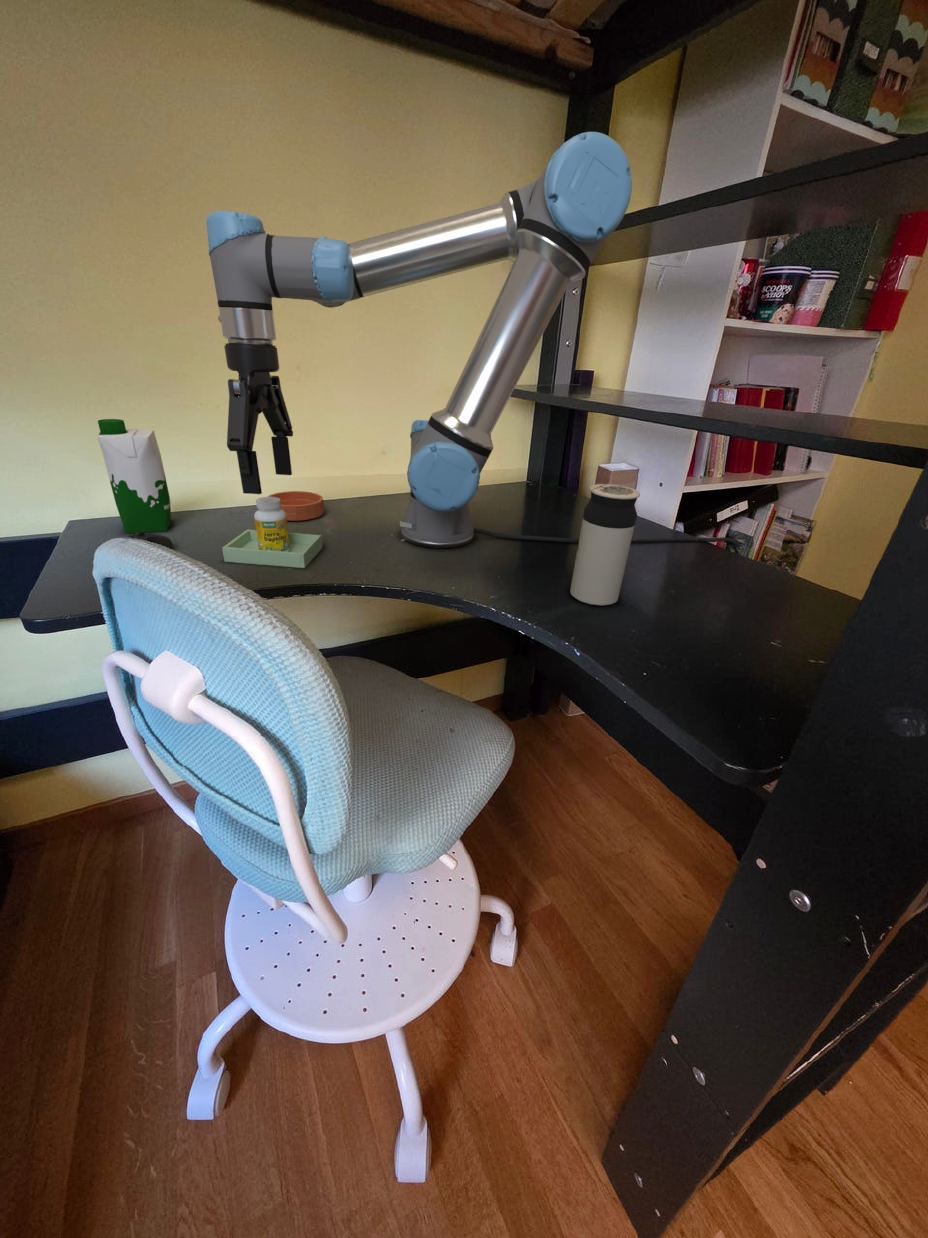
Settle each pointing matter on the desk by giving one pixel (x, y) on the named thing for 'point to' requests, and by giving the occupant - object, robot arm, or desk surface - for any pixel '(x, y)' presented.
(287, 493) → the bowl
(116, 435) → the milk carton
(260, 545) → the supplement bottle
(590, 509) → the travel mug
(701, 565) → the desk surface
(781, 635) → the desk surface
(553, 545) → the desk surface
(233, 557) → the tray
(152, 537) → the game controller
